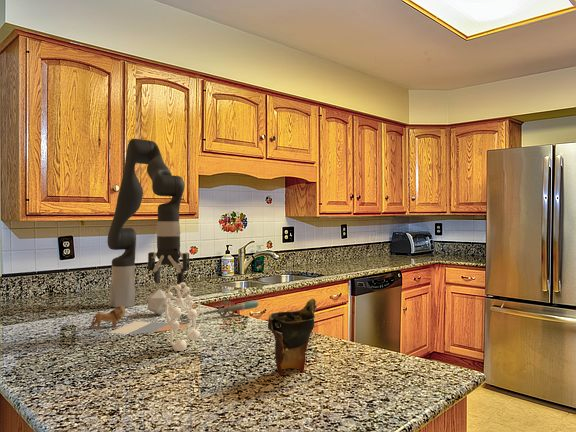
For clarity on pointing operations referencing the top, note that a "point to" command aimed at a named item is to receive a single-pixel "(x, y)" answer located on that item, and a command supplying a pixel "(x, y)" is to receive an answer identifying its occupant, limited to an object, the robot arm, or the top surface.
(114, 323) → the lion figurine
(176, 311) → the molecule model
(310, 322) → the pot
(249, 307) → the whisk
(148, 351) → the top surface
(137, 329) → the track board
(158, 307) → the die
